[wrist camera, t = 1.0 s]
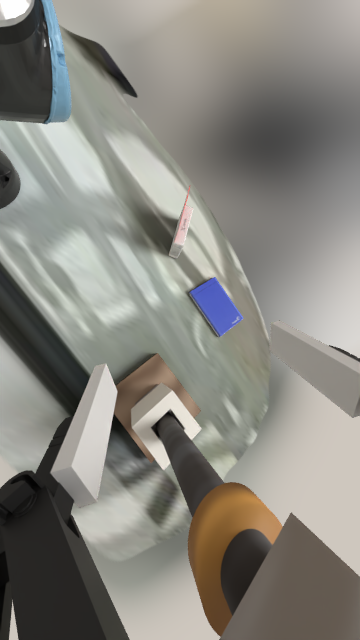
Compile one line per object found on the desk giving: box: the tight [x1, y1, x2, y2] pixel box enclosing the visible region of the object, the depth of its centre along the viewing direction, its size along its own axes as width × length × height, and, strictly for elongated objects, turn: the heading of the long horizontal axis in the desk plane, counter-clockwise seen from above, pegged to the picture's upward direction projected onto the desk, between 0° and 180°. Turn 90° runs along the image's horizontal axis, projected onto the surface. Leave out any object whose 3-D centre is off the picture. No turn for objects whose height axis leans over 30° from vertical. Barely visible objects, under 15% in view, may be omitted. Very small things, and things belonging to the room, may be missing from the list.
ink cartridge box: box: [169, 186, 193, 259], centre depth 39 cm, size 2×11×10 cm, turn 167°
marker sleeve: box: [131, 383, 201, 470], centre depth 24 cm, size 6×6×8 cm
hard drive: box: [189, 277, 244, 337], centre depth 42 cm, size 2×8×12 cm
